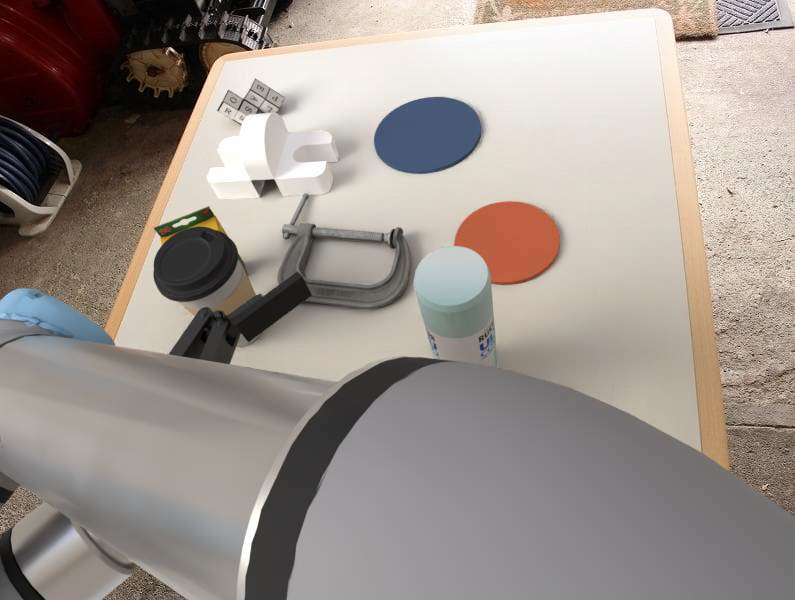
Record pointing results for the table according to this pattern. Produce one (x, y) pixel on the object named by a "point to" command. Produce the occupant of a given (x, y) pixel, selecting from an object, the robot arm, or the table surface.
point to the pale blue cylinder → (457, 305)
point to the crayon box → (202, 220)
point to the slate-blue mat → (427, 135)
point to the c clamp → (341, 291)
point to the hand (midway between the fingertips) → (353, 333)
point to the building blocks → (250, 102)
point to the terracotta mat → (511, 240)
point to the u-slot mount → (273, 160)
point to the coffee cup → (202, 272)
